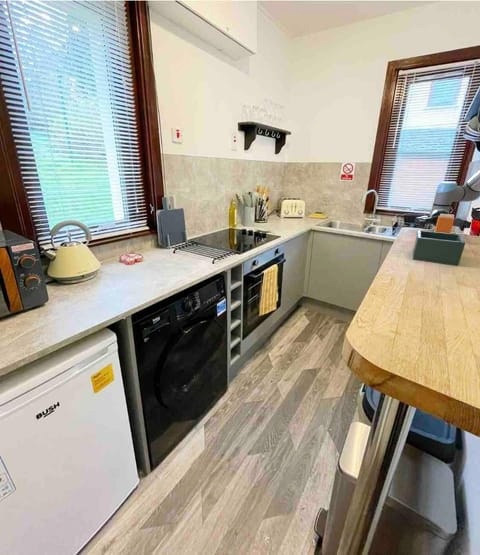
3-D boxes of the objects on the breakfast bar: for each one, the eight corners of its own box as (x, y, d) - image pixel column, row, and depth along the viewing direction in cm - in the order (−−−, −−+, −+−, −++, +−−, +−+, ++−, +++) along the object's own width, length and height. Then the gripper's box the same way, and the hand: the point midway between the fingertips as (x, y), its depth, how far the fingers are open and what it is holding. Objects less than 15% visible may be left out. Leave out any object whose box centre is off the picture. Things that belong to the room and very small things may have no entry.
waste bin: (454, 255, 97) (460, 234, 94) (458, 265, 87) (465, 242, 84) (413, 250, 103) (418, 230, 100) (412, 259, 93) (418, 237, 90)
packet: (446, 241, 115) (454, 214, 110) (447, 243, 111) (455, 215, 107) (432, 239, 117) (439, 213, 113) (432, 241, 114) (440, 214, 110)
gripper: (470, 228, 126) (477, 238, 110) (408, 223, 138) (406, 231, 122) (475, 212, 123) (484, 219, 107) (411, 207, 135) (410, 214, 119)
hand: (443, 226), depth 114 cm, fingers open, 13 cm apart
